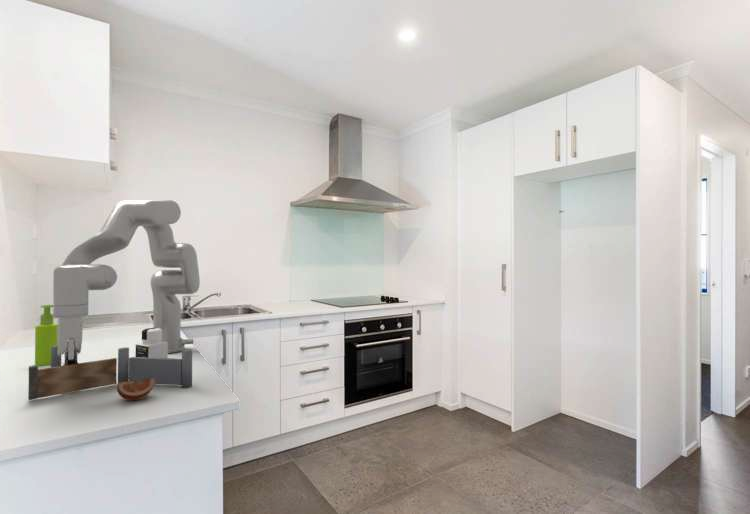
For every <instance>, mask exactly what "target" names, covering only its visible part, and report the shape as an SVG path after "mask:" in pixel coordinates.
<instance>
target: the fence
mask: <svg viewBox="0 0 750 514" xmlns="http://www.w3.org/2000/svg"><path fill="white" fill-rule="evenodd" d="M117 351H118V352H117V384H118V383H120V382H128V381H137V382H139V381H141V380H143V379H148V378H155V385H164V386H166V385H167V386H181V388H182V389H189V388H192V387H193V349H184V350H182V351H181V358H171V357H169V358H147V357H136V356H132V357H130V347H120V348H118V349H117ZM57 366H62V355H61V356H58V345H57V346H51V364H50V367H57Z"/></svg>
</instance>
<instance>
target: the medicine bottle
mask: <svg viewBox="0 0 750 514" xmlns="http://www.w3.org/2000/svg"><path fill="white" fill-rule="evenodd" d="M161 340H162V329H160V328H153V327H149V328H145V329H143V330H142V331H141V342H137V343H135V357H147V358H168V357H169V353H168V342H164V341H161Z"/></svg>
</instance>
